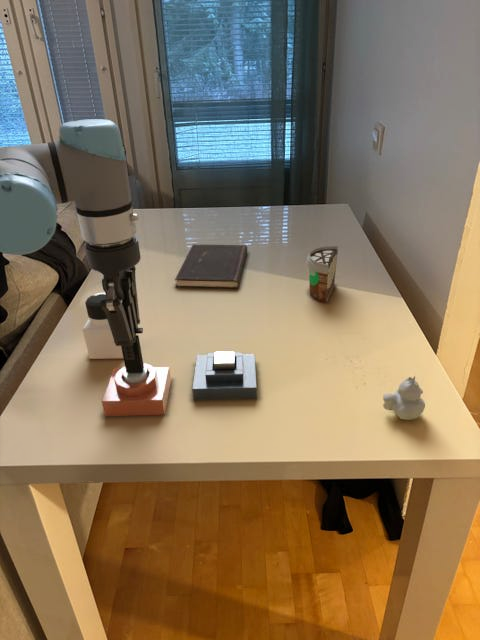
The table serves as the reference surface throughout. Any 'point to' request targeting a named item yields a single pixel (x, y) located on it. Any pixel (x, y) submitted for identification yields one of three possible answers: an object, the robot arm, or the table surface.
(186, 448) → the table surface
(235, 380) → the push button base
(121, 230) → the robot arm
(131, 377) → the white round push button
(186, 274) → the hardcover book
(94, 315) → the medicine bottle
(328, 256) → the food container
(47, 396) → the table surface
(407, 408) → the white lumpy figurine
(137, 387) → the orange button base
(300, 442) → the table surface
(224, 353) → the pump square
